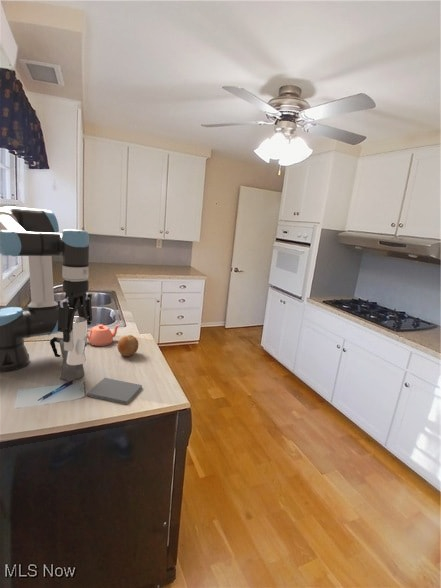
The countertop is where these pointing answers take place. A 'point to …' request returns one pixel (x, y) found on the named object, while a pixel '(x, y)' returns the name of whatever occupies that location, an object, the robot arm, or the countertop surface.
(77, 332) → the beer glass
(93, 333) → the teapot
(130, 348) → the onion
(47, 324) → the robot arm
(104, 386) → the slate board
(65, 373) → the coffeepot
